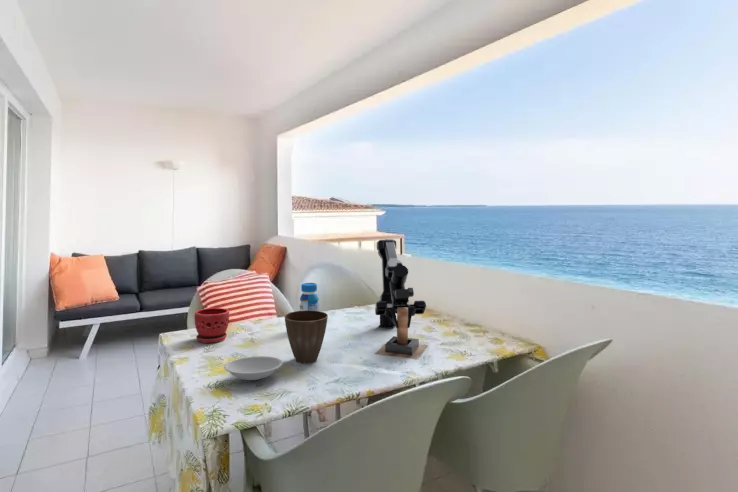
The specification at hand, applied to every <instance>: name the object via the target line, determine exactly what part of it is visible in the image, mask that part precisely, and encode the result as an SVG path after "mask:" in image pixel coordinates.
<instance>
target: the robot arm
mask: <svg viewBox="0 0 738 492" xmlns="http://www.w3.org/2000/svg"><path fill="white" fill-rule="evenodd" d="M376 250H377V254H378V256H379V257H380V259H381V271H382V272H381V275H382V277H381V278H382V293H381V294H380V296H379V300H378V301H377V302H376V303H375V308H374V312H375V315H376V316H379V325H378V328H385V329H386V328H387V329H393V328H394V327H395V329H397V328H398V323H397V308H398V307H407V308H408V329H410V327H411V321H412V317H414V316H415V315H423V314H424V313H425V311H426V308H427V304H426V301H425V300H414V302H413V303H412V304H409V299H410V298H412V297H414V295H415V293H414V287H408V288H406V287H405V286H406V285H405V284H406V283H407V278H408V274H409V268H408V267H407V266H406V265H403V262H402V261H401V260H399V257H398V254H397V240H395V239H394V238H386V239H385V238H384V239H379V240H378V241H377V242H376Z"/></svg>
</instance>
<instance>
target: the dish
mask: <svg viewBox="0 0 738 492" xmlns="http://www.w3.org/2000/svg"><path fill="white" fill-rule="evenodd" d="M282 366H283V361H282V360H281V359H279V358H277V357H274V356H273V357H272V356H267V355H264V356H262V355H260V356H259V355H258V356H257V355H256V356H246V357H240V358H236V359H232V360H231V361H227V362H226V363H225V364H224V366H223V368H224V370H225V371H227V372H228V373H229V374H231V375H232V376H233V377H235V378H237V379H240V380H245V381H252V380H255V381H257V380H261V379H265V378H268V377H269V376H271V375H273V374H274V373H275V372H276V371H277V370H278V369H279V368H281V367H282Z"/></svg>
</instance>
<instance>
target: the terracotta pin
mask: <svg viewBox="0 0 738 492" xmlns="http://www.w3.org/2000/svg"><path fill="white" fill-rule="evenodd" d="M396 318H397V323H398V328H396V337H397V344H405V345H408V338H409V336H408V335H409V328H408V308H407V307H398V308H397V314H396Z"/></svg>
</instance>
